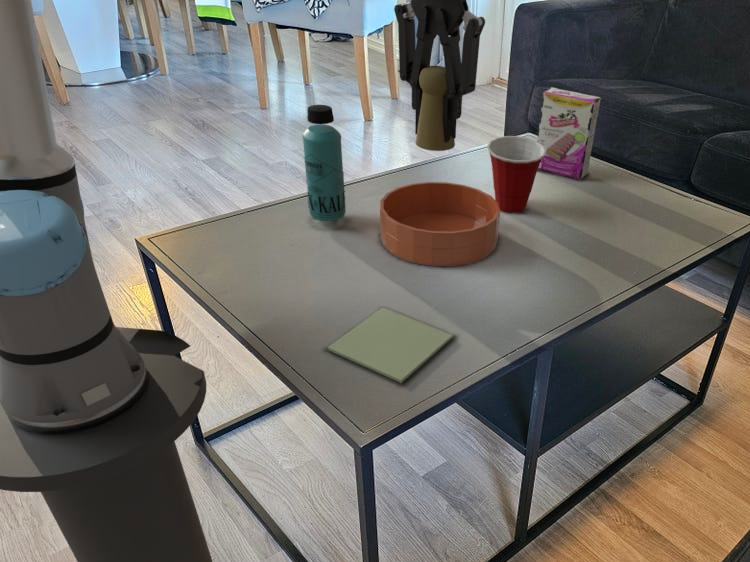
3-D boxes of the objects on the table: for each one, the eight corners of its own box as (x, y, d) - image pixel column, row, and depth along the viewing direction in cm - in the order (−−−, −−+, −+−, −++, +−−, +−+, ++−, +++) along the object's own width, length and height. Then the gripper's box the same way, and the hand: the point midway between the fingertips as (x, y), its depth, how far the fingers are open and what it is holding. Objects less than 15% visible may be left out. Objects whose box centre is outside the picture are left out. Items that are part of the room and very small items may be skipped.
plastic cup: (481, 217, 121) (486, 154, 113) (483, 193, 129) (488, 133, 122) (539, 221, 121) (547, 159, 114) (538, 198, 129) (545, 138, 122)
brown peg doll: (452, 137, 102) (456, 62, 95) (457, 151, 97) (461, 73, 90) (414, 136, 101) (414, 61, 94) (416, 150, 96) (417, 72, 89)
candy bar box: (532, 170, 141) (541, 91, 131) (540, 163, 145) (550, 86, 135) (581, 181, 138) (594, 101, 128) (588, 174, 141) (601, 96, 131)
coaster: (327, 350, 86) (327, 347, 85) (383, 309, 94) (383, 307, 94) (401, 383, 81) (401, 380, 81) (452, 337, 90) (452, 335, 89)
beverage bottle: (316, 211, 118) (306, 98, 106) (352, 216, 118) (345, 102, 105) (304, 227, 113) (291, 110, 101) (341, 232, 113) (332, 114, 100)
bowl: (357, 242, 110) (355, 209, 106) (424, 203, 124) (424, 173, 120) (457, 279, 102) (459, 245, 99) (517, 232, 117) (520, 201, 113)
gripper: (512, -38, 84) (496, 142, 98) (403, -54, 90) (403, 118, 104) (483, -34, 78) (471, 156, 92) (369, -51, 84) (374, 129, 99)
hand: (435, 135), depth 98 cm, fingers closed on brown peg doll, 4 cm apart
